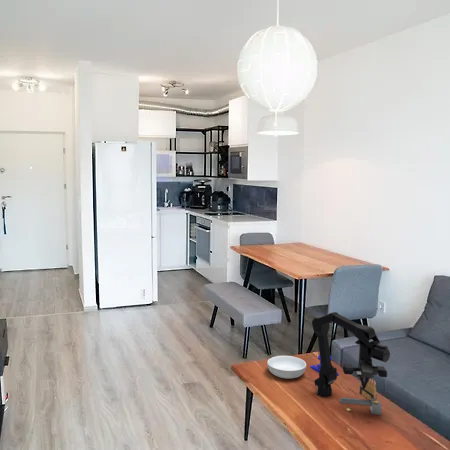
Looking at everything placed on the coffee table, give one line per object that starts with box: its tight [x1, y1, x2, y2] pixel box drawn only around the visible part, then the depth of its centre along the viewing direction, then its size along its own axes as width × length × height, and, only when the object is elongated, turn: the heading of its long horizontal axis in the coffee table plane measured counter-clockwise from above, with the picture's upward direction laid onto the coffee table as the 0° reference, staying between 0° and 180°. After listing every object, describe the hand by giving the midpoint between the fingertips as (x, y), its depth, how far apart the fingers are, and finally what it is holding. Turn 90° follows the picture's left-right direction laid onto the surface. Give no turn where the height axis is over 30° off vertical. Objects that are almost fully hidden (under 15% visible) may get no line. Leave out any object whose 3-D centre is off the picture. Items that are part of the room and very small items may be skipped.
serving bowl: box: [266, 355, 307, 379], centre depth 251 cm, size 21×21×7 cm
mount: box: [309, 354, 340, 377], centre depth 256 cm, size 15×8×9 cm, turn 30°
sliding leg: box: [369, 398, 383, 416], centre depth 213 cm, size 4×8×5 cm, turn 173°
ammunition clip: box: [359, 378, 377, 400], centre depth 224 cm, size 11×2×12 cm, turn 20°
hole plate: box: [339, 396, 371, 412], centre depth 212 cm, size 18×13×3 cm
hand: (363, 388), depth 210 cm, fingers closed
